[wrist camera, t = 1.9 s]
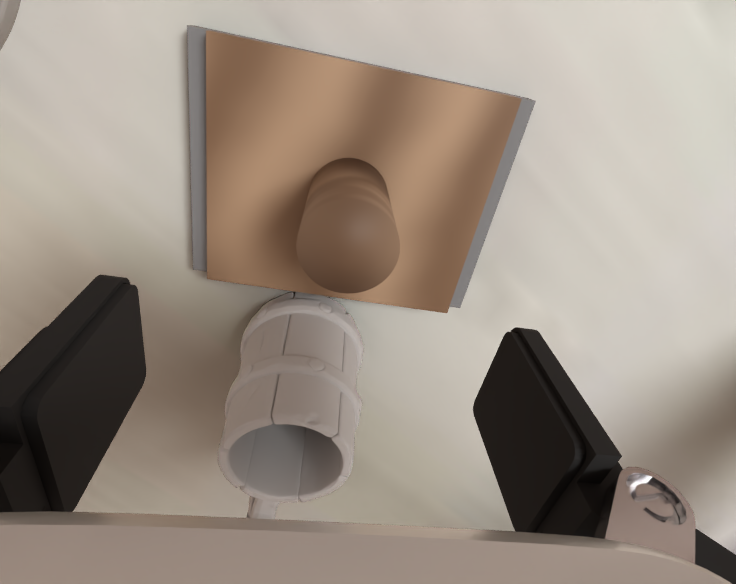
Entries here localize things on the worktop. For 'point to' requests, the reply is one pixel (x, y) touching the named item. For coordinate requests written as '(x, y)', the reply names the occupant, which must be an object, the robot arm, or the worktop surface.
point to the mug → (293, 403)
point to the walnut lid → (344, 173)
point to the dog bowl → (7, 18)
